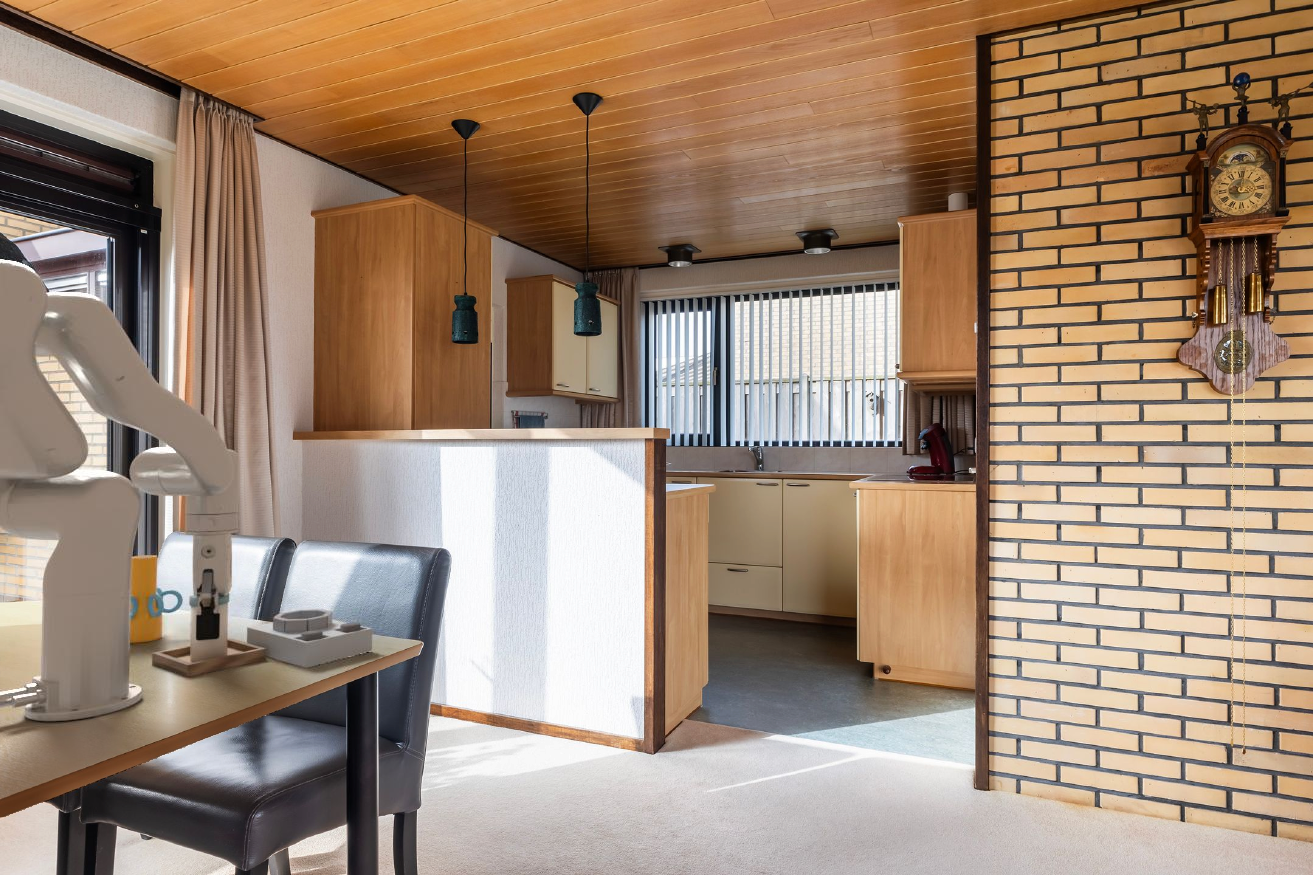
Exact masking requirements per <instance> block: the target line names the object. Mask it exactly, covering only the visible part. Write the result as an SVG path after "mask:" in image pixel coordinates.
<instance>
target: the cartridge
mask: <svg viewBox="0 0 1313 875" xmlns="http://www.w3.org/2000/svg"><path fill="white" fill-rule="evenodd" d="M211 594H216V592H211ZM213 600H214V599H213ZM188 601H189V606H190V634H189V635H190V638H189V639H190V640H189V641H190V642H189V644H190V645H189V646H190V661H191V662H198V661H203V660H208V659H213V658H217V657H222V656H227V640H228V638H229V636H228V634H229V633H228V632H229V627H228V626H229V623H228V622H229V621H228V620H229V610H228V609H229V602H230V592H229V593H228V594H227V595H224V593H219V602H218V613H220V636H219V638H218V639H211V640H200V641H198V640H196V615H198V614H197V612H198V597H196V596H195V595H194V594H192V595H190V596H189V600H188Z"/></svg>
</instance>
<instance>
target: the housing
mask: <svg viewBox="0 0 1313 875" xmlns="http://www.w3.org/2000/svg"><path fill="white" fill-rule="evenodd" d="M345 623H347V622H346V621H341V620H336V619H333V611H332V610H331V611H330V610H326V609H320V608H318V609H316V608H315V609H296V610H292V611H291V610H290V611H285V612H284V611H283V612H280V613H278V614H276V615H275V616H274V617H272V622H269V623H263V624H257V625H253V626H248V627H246V628H247V629H246V643H249V644H252V645H256V646H259V647H263V648H266V656H267V657H266V658H270V659H273V658H274V659H273V660H277V661H280V662H283V663H284V662H285V663H287V664H290V665H294V666H298V667H300V668H304V669H307V668H313V667H316V666H319V664H320V665H324V664H327V663H326V662H328V663H330V662H329V661H333V662H335V661H334V660H336V659H341V660H343V659H342V658H345V659H347V658H346V657H348V656H353V655H357V656H359V655H358V654H360V653H364V652H369V651H371V650H372V651H373V628H372V627H367V626H362V625H361V628H360V630H359V631H354V632H350V633H344V632H340V625H342V624H345ZM306 631H322V632H323V638H322V639H317V640H313V641H308V642H307V641H303V640H301V633H303V632H306ZM369 653H370V652H369ZM353 657H354V656H353Z"/></svg>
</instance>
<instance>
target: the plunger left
mask: <svg viewBox="0 0 1313 875" xmlns="http://www.w3.org/2000/svg"><path fill="white" fill-rule="evenodd" d="M322 638H323V632H322V631H306V632H303V633H301V640H303V641H307V642H308V641H313V640H317V639H322Z"/></svg>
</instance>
